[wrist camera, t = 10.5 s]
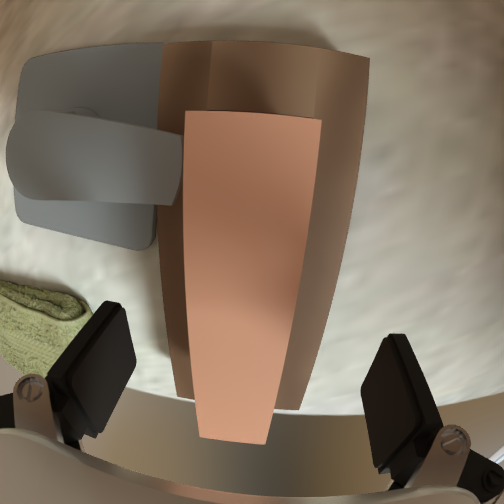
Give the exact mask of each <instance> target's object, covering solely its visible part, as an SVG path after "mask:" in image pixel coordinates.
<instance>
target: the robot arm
mask: <svg viewBox="0 0 504 504" xmlns="http://www.w3.org/2000/svg"><path fill="white" fill-rule="evenodd" d="M135 367H136V356H135V352H134V347H133V343H132V339H131V335H130V330H129V325H128V321H127V316H126V311H125V309H124V308H122V306H121V304H120V303H117V302H112V301H104V302H103V303H102V305H101V306H100V307H99V308H98V309H97V310H96V312H95V313H94V314H93V315H92V316H91V318H90V319H89V320H88V321H87V322H86V324H85V325H84V326H83V327H82V329H81V330H80V331H79V332H78V334H77V335H76V336H75V337H74V339H73V340H72V341H71V342H70V344H69V345H68V346H67V347H66V349H65V350H64V351H63V353H62V354H61V355H60V356H59V358H58V359H57V360H56V362H55V363H54V364H53V366H52V367H51V368H50V370H49V371H48V372H47V376H46V377H45V378H44V377H42V376H41V375H39V374H27V375H25V376H23V377H21V378H20V379H19V380H18V381H17V382H16V384H15V386H14V390H13V393H10V394H6V395H3V396H0V504H504V470H503V468H502V467H501V466H499V465H498V464H496V463H494V462H493V461H491V460H489V459H487V458H485V457H483V456H482V455H480V454H478V453H476V452H474V451H473V450H471V449H470V447H471V441H470V437H469V435H468V433H467V432H466V431H465V430H464V429H463V428H461V427H460V426H457V425H447V426H443V423H442V420H441V417H440V415H439V412H438V409H437V407H436V404H435V401H434V399H433V396H432V394H431V391H430V389H429V386H428V384H427V382H426V379H425V377H424V374H423V372H422V370H421V368H420V365H419V363H418V361H417V359H416V356H415V354H414V352H413V350H412V348H411V345H410V343H409V341H408V339H407V337H406V335H405V334H389V335H388V336H387V337H385V338H384V339H383V340H382V343H381V345H380V347H379V350H378V352H377V354H376V356H375V359H374V361H373V363H372V365H371V367H370V369H369V371H368V374H367V376H366V378H365V380H364V382H363V384H362V386H361V398H362V403H363V408H364V413H365V418H366V423H367V429H368V434H369V440H370V446H371V452H372V458H373V464H374V467H375V468H378V472H379V474H385V473H391V479H392V480H391V481H390V483H389V484H388V486H387V487H386V489H385V490H384V492H376V493H368V494H359V495H348V496H334V497H271V496H257V495H245V494H237V493H229V492H222V491H216V490H210V489H204V488H198V487H193V486H188V485H184V484H180V483H175V482H171V481H167V480H163V479H159V478H156V477H152V476H149V475H145V474H142V473H139V472H136V471H132V470H129V469H126V468H124V467H121V466H118V465H115V464H112V463H109V462H107V461H104V460H102V459H99V458H96V457H94V456H91V455H89V454H87V453H85V449H84V447H83V443H82V440H81V439H82V437H83V435H84V434H86V435H89V436H90V437H93V438H96V437H97V435H98V433H101V432H103V430H104V428H105V426H106V424H107V422H108V420H109V418H110V416H111V414H112V412H113V410H114V408H115V406H116V404H117V402H118V400H119V398H120V396H121V394H122V392H123V390H124V388H125V386H126V384H127V382H128V380H129V379H130V377H131V375H132V373H133V371H134V369H135Z"/></svg>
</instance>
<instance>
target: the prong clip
mask: <svg viewBox="0 0 504 504" xmlns="http://www.w3.org/2000/svg"><path fill="white" fill-rule="evenodd" d="M321 123H322V120H318V119H311V118H303V117H295V116H286V115H276V114H264V113H250V112H230V111H185V131H184V162H183V238H184V270H185V291H186V308H187V323H188V336H189V348H190V359H191V369H192V379H193V388H194V396H195V404H196V412H197V420H198V427H199V434H200V437H204V438H211V439H218V440H226V441H234V442H243V443H254V444H265V442H266V439H267V434H268V431H269V427H270V423H271V419H272V415H273V410H274V406H275V402H276V398H277V393H278V389H279V384H280V380H281V375H282V371H283V366H284V362H285V357H286V352H287V347H288V342H289V337H290V332H291V327H292V322H293V317H294V311H295V306H296V301H297V295H298V290H299V284H300V278H301V272H302V266H303V260H304V254H305V248H306V241H307V235H308V228H309V221H310V214H311V207H312V200H313V193H314V185H315V177H316V169H317V160H318V152H319V142H320V133H321Z"/></svg>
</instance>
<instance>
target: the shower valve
mask: <svg viewBox="0 0 504 504" xmlns="http://www.w3.org/2000/svg"><path fill="white" fill-rule="evenodd" d="M163 44H164V43H134V44H117V45H106V46H96V47H88V48H81V49H74V50H68V51H62V52H57V53H52V54H47V55H42V56H38V57H34V58H31V59H30V60H28V61H27V62H26V63H25V65H24V67H23V69H22V72H21V77H20V83H19V90H18V97H17V105H16V115H15V124H14V125H13V127H12V129H11V131H10V134H9V137H8V141H7V146H6V165H7V170H8V174H9V177H10V179H11V181H12V183H13V185H14V196H15V208H16V213H17V216H18V218H19V219H20V220H21V221H22V222H24V223H26V224H30V225H34V226H38V227H42V228H46V229H50V230H54V231H58V232H62V233H66V234H70V235H74V236H78V237H82V238H86V239H90V240H94V241H98V242H103V243H107V244H111V245H115V246H120V247H124V248H128V249H132V250H144V249H146V248H148V247H149V246H150V245H151V243H152V242H153V240H154V238H155V232H156V219H157V205H170V206H172V205H173V204H174V203H175V201H176V199H177V196H178V193H179V191H180V187H181V183H182V179H183V162H184V136H182V135H178V134H174V133H170V132H166V131H161V130H157V117H158V98H159V83H160V71H161V60H162V51H163Z"/></svg>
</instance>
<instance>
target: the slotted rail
mask: <svg viewBox="0 0 504 504" xmlns="http://www.w3.org/2000/svg"><path fill="white" fill-rule="evenodd" d="M369 63H370V58H367V57H363V56H359V55H354V54H349V53H345V52H340V51H334V50H329V49H323V48H316V47H310V46H302V45H294V44H284V43H273V42H258V41H193V42H178V43H167V44H163V51H162V60H161V71H160V83H159V98H158V117H157V130H161V131H166V132H170V133H174V134H178V135H182V136H184V131H185V111H230V112H250V113H264V114H276V115H286V116H295V117H303V118H311V119H318V120H322V123H321V133H320V142H319V152H318V160H317V169H316V177H315V185H314V193H313V200H312V207H311V214H310V221H309V228H308V235H307V241H306V248H305V254H304V260H303V266H302V272H301V278H300V284H299V290H298V295H297V301H296V306H295V311H294V317H293V322H292V327H291V332H290V337H289V342H288V347H287V352H286V357H285V362H284V366H283V371H282V375H281V380H280V384H279V389H278V393H277V398H276V402H275V406H274V409H285V410H299V408H300V406H301V403H302V400H303V397H304V394H305V391H306V388H307V385H308V382H309V379H310V376H311V373H312V370H313V367H314V363H315V360H316V357H317V354H318V350H319V347H320V343H321V340H322V337H323V333H324V329H325V326H326V322H327V319H328V315H329V311H330V307H331V304H332V300H333V296H334V292H335V288H336V284H337V279H338V275H339V271H340V266H341V262H342V258H343V253H344V248H345V244H346V239H347V234H348V229H349V224H350V218H351V213H352V208H353V202H354V196H355V190H356V184H357V178H358V171H359V164H360V157H361V150H362V142H363V134H364V125H365V116H366V105H367V94H368V80H369ZM157 221H158V241H159V257H160V270H161V281H162V292H163V302H164V311H165V319H166V328H167V335H168V343H169V350H170V356H171V363H172V369H173V375H174V381H175V387H176V392H177V397H182V398H188V399H193V400H195V396H194V388H193V379H192V369H191V359H190V348H189V336H188V323H187V308H186V291H185V270H184V238H183V179H182V183H181V187H180V191H179V193H178V196H177V199H176V201H175V203H174V204H173V205H172V206H170V205H157Z"/></svg>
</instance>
